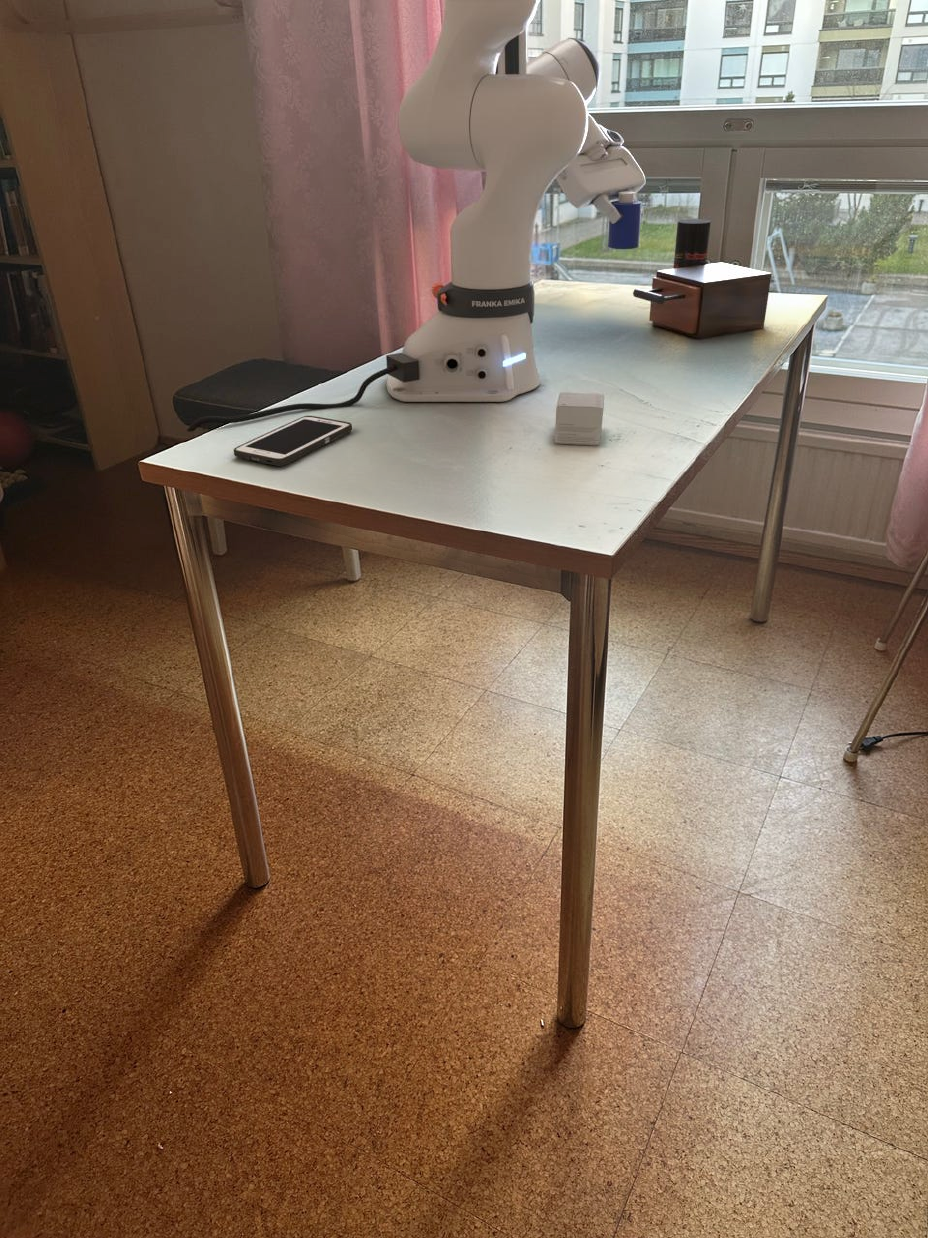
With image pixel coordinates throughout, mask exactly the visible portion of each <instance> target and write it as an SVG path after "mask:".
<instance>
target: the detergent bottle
mask: <svg viewBox="0 0 928 1238" xmlns="http://www.w3.org/2000/svg"><path fill="white" fill-rule="evenodd" d="M634 195H635V193H634V192H619V199H618V200H613V201H610V203H611V204H612V205H613V206H614V207H615V208H619V210H620V211H621V213H622V214H623V218H622V219H621V220H620V221H619V222H618V223H614V224H612V223H611V221H610V220H609V223H608V224H609V225H608V240H607V241H608V243H607V247H608V248H609V249H613V250H635V249H638V248H639V247H640V235H641V234H640V233H641V220H642V214H641V208H642V207H643V206H642V205H643V202H642V201H639V200H638V201H634ZM642 209H643V208H642Z"/></svg>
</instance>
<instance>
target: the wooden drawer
mask: <svg viewBox="0 0 928 1238" xmlns="http://www.w3.org/2000/svg"><path fill="white" fill-rule="evenodd" d="M651 282H652V283H651V289H641V288H635V289H634V290H633V291H632V295H633V297H634V298H637V299H641V300H644V301H648V302H650V306H649V307H650V308H649V320H648V321H649V322H651V323H652V322H656V323H659V324H662V325H665V326H668V327H671V328H675V329H678V330H681V331H684V332H687V333H690V334H692V333H696V332H697V323H698V313H699V304H700V295H701V287H700V286H696V285H692V284H688V283H684V282H680V281H676V280H672V279H668V278H667V279H665V278H661V277H656V276H655V277H654V276H653V277H652V281H651Z"/></svg>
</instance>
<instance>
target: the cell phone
mask: <svg viewBox="0 0 928 1238" xmlns="http://www.w3.org/2000/svg"><path fill="white" fill-rule="evenodd" d="M352 430H353V425H352V423H351V422H349V421H343V420H338V419H332V418H327V417H322V416H316V415H303V416H301V417H299V418H296V419H294V420H293V421H290V422H288V423H286V424H284V425H281V426H279V427H276V428H274V429H273V430H270V431H268V432H266V433H264V434H262V435H259V436H257V437H255V438H253V439H251V440H248V441H246V442H244V443H241V444H240V445H238V446H236V447H234V448H233V456H235V457H236V458H239V459H243V460H249V461H254V462H258V463H262V464H266V465H271V466H278V467H282V466H285V465H287V464H289V463H291V462H293V461H295V460H297V459H299V458H301V457H303V456H305V455H308V454H309V453H311V452H313V451H315V450H317V449H319V448H320V447H323V446H324V445H327V444H329V443H330V442H332V441H334V440H336V439H339V438H340V437H342V436H344V435H346V434H348V433H350V432H351V431H352Z"/></svg>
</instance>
